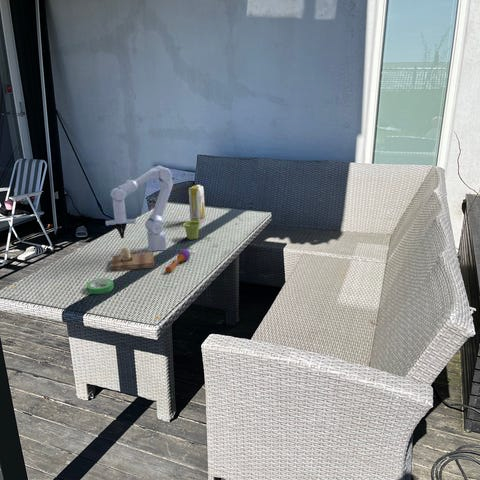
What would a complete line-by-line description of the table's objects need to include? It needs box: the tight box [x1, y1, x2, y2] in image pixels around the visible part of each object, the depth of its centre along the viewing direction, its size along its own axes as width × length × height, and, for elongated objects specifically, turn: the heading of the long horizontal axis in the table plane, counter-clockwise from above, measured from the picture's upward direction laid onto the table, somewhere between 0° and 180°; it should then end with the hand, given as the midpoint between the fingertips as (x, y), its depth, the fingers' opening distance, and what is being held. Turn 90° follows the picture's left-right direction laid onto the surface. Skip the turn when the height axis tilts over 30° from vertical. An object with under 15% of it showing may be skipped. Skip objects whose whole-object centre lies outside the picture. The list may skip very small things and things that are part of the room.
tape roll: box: [86, 277, 115, 295], centre depth 198 cm, size 11×11×3 cm
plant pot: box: [182, 220, 201, 240], centre depth 260 cm, size 9×9×9 cm
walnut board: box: [110, 252, 155, 272], centre depth 224 cm, size 20×14×2 cm
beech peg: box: [120, 247, 131, 262], centre depth 223 cm, size 4×4×8 cm
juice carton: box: [188, 184, 206, 225], centre depth 287 cm, size 9×8×24 cm
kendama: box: [164, 248, 191, 274], centre depth 222 cm, size 6×6×20 cm
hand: (122, 237), depth 234 cm, fingers closed
